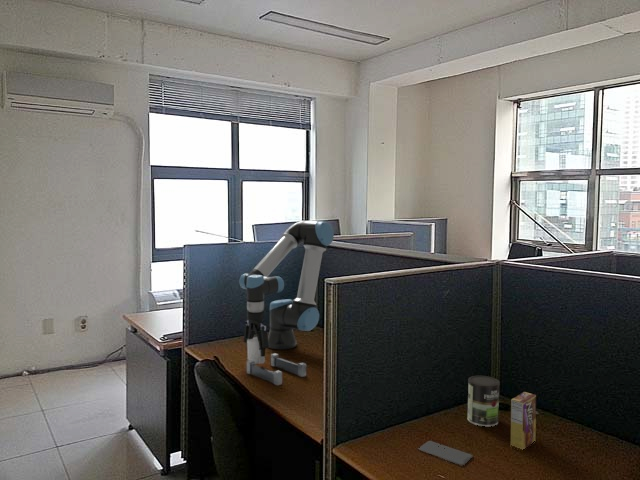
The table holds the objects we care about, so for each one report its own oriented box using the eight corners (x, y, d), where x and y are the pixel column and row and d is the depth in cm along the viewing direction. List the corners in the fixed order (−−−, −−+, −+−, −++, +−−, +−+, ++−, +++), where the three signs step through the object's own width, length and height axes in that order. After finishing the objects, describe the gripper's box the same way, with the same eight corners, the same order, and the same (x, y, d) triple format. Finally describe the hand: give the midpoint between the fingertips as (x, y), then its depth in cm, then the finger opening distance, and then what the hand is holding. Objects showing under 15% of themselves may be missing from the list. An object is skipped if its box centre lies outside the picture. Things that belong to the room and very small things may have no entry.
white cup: (266, 358, 236) (266, 337, 235) (262, 364, 228) (262, 342, 227) (249, 358, 237) (249, 336, 236) (245, 364, 229) (244, 341, 228)
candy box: (522, 437, 167) (524, 391, 165) (535, 442, 163) (537, 394, 162) (509, 446, 160) (510, 398, 159) (522, 451, 157) (524, 402, 156)
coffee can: (505, 423, 176) (506, 383, 175) (481, 429, 172) (482, 388, 171) (483, 411, 186) (484, 373, 184) (460, 417, 181) (461, 377, 180)
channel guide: (275, 364, 236) (274, 353, 235) (306, 375, 221) (306, 363, 221) (246, 373, 224) (246, 361, 224) (277, 385, 210) (277, 373, 210)
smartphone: (428, 439, 164) (474, 455, 154) (428, 442, 164) (474, 458, 154) (416, 448, 158) (462, 465, 148) (416, 451, 158) (462, 468, 149)
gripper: (234, 308, 235) (235, 357, 237) (263, 315, 220) (263, 368, 222) (248, 305, 240) (248, 353, 242) (277, 312, 225) (277, 364, 228)
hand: (256, 360), depth 232 cm, fingers closed on white cup, 7 cm apart
